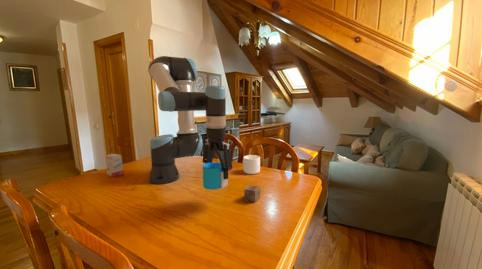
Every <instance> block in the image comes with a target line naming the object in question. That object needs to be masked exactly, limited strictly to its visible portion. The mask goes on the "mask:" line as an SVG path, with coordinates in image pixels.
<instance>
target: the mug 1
mask: <svg viewBox="0 0 482 269" xmlns="http://www.w3.org/2000/svg"><path fill="white" fill-rule="evenodd" d="M221 170H222V167H221V163H220V162H214V161H212V163H206V164H205V163H203V165H202V187H203V188H204V189H206V190H209V191H210V190H212V191H214V190H215V191H216V190H219V189H222V187H221Z"/></svg>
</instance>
